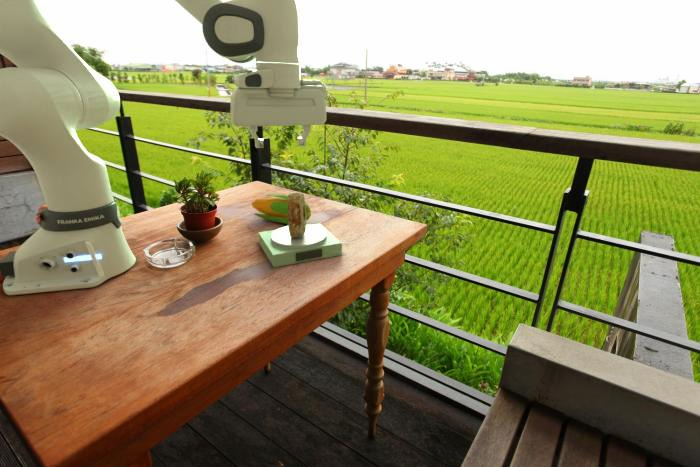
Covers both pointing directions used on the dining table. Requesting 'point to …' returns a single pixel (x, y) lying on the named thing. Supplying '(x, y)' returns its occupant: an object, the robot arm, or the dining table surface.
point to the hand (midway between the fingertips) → (281, 146)
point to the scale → (299, 245)
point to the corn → (275, 208)
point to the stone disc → (296, 215)
